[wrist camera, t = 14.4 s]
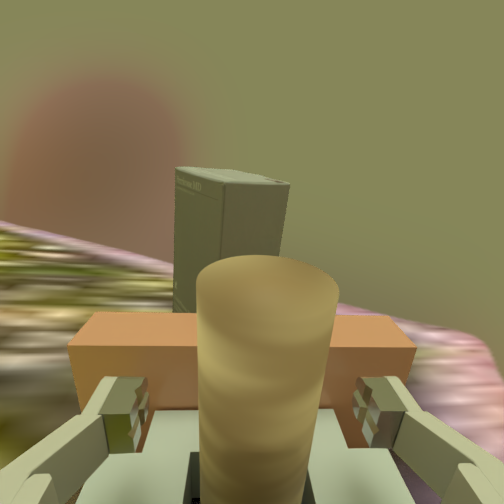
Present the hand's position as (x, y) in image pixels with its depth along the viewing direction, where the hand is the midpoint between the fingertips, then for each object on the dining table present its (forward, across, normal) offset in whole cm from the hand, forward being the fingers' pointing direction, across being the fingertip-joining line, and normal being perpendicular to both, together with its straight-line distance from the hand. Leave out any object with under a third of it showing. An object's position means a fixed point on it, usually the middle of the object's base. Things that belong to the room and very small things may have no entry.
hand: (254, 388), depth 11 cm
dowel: (-1, 0, +9) cm, 9 cm away
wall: (+5, 0, +9) cm, 10 cm away
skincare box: (+15, +2, +9) cm, 18 cm away
